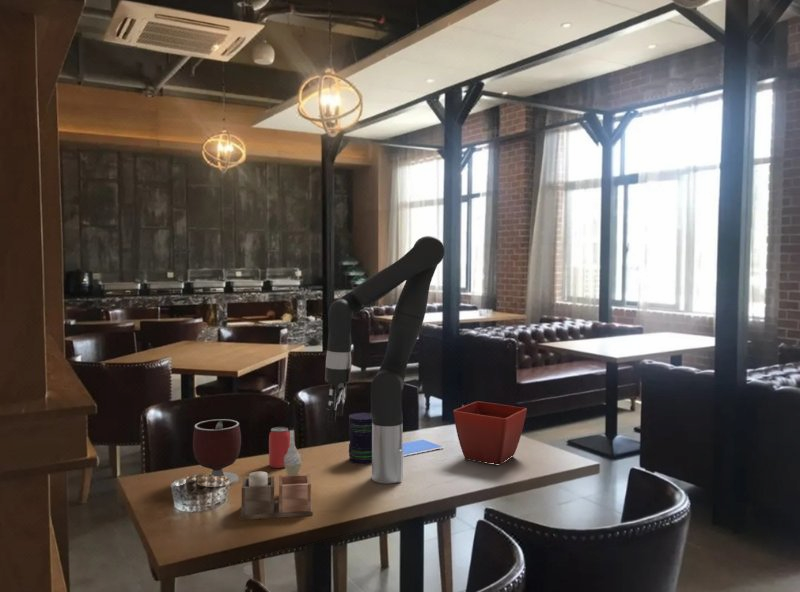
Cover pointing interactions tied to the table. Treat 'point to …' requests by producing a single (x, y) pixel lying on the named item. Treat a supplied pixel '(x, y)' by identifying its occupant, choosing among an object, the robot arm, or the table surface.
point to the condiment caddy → (261, 496)
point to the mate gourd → (217, 445)
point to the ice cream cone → (292, 460)
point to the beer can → (278, 446)
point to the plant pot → (489, 430)
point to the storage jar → (360, 438)
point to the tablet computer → (418, 447)
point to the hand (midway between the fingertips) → (335, 419)
